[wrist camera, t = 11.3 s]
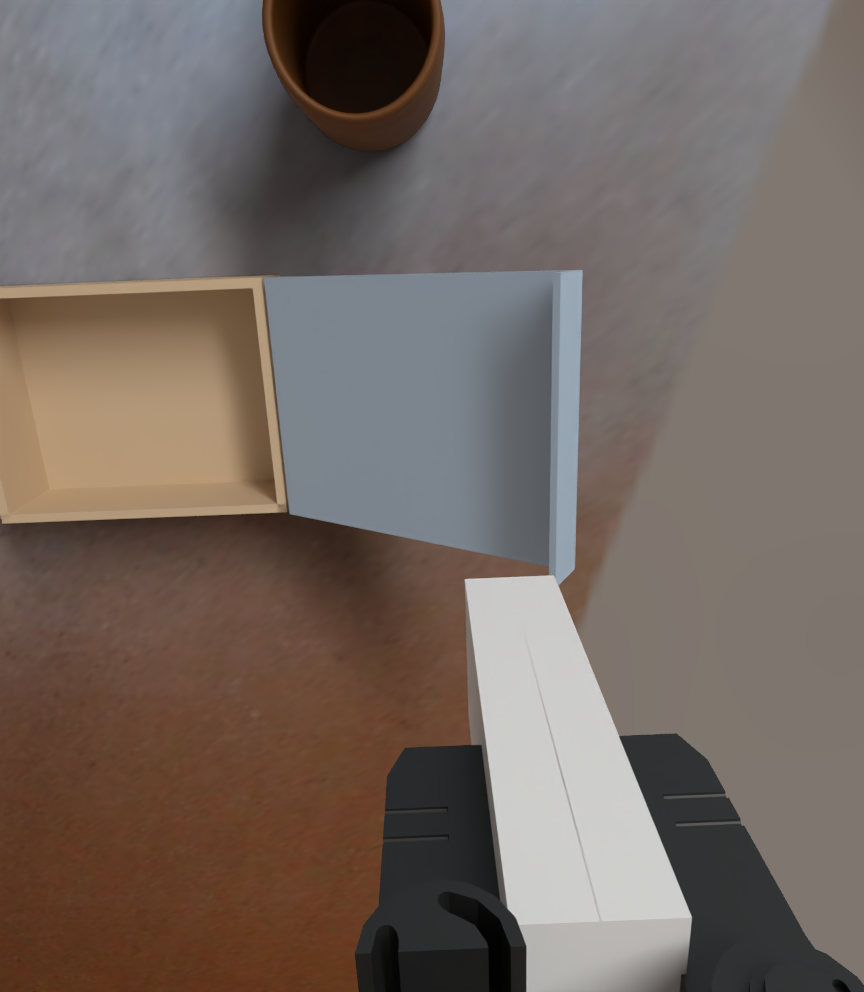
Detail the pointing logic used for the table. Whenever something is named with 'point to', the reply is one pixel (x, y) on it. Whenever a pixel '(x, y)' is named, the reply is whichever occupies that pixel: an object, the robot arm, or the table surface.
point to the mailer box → (138, 400)
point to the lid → (434, 406)
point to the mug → (359, 65)
